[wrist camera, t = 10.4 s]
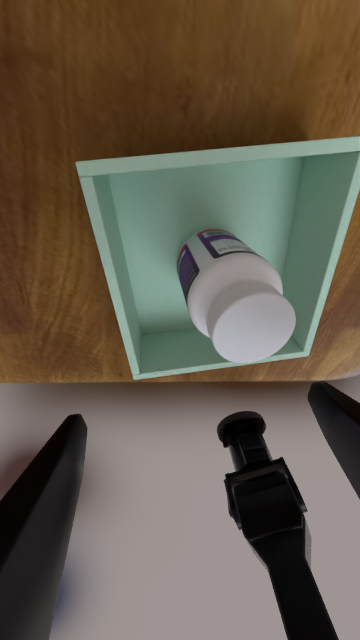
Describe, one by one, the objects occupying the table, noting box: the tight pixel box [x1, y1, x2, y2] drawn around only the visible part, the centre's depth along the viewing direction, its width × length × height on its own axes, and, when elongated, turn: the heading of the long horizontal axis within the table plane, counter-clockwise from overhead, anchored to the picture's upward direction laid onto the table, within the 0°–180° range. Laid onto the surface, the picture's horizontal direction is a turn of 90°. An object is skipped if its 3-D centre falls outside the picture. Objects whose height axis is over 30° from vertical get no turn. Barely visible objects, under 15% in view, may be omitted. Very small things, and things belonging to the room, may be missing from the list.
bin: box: [75, 136, 360, 380], centre depth 17 cm, size 14×14×6 cm
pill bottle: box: [177, 228, 296, 363], centre depth 15 cm, size 5×5×10 cm
